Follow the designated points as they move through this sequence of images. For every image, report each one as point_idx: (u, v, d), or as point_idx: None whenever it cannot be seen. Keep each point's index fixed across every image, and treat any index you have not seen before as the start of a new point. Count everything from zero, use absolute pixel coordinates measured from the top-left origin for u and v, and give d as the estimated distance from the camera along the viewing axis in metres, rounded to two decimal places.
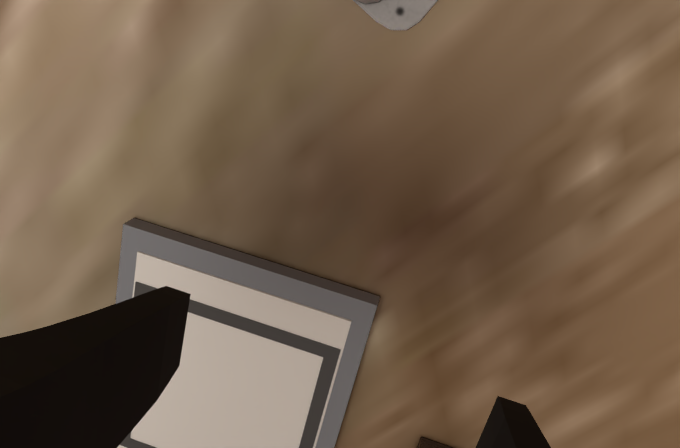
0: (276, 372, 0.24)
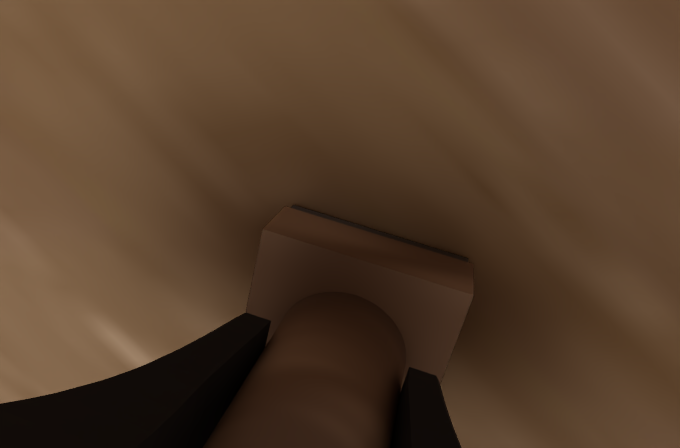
0: None
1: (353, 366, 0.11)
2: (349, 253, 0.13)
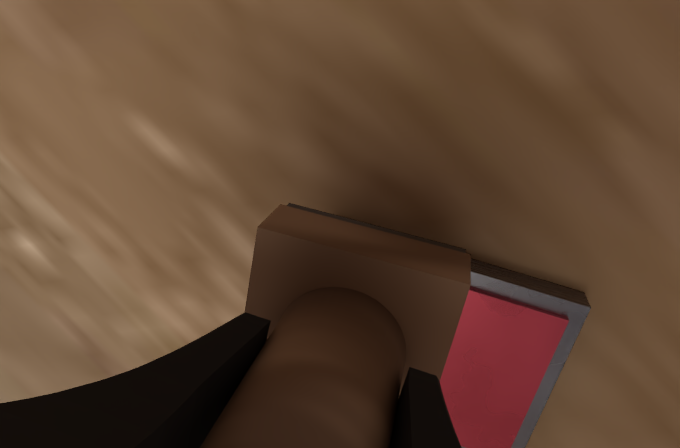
0: None
1: (351, 359, 0.11)
2: (345, 247, 0.13)
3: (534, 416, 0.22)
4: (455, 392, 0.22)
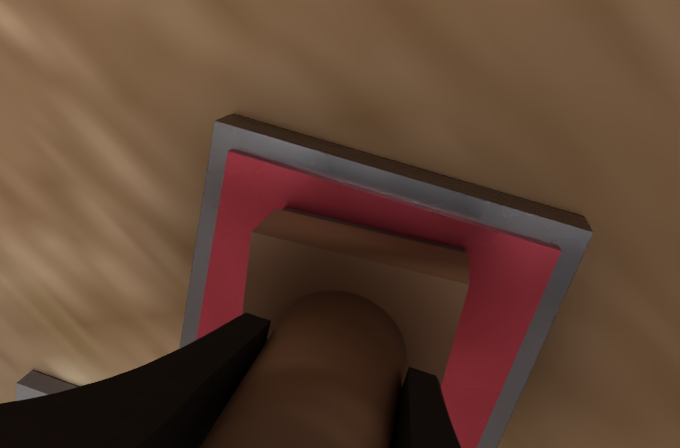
0: None
1: (347, 363, 0.11)
2: (340, 251, 0.13)
3: (513, 395, 0.16)
4: None
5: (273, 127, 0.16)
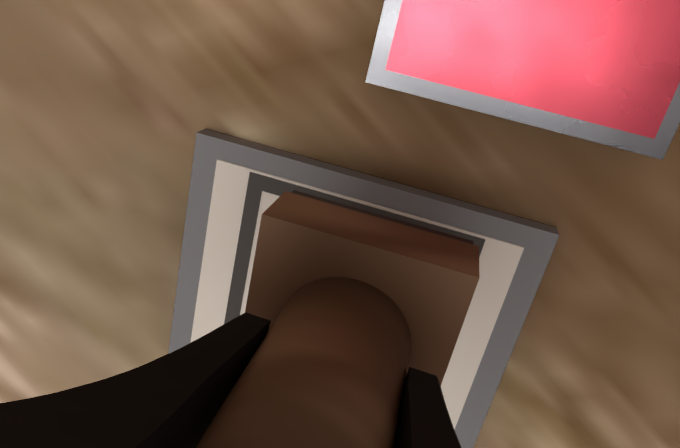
0: None
1: (356, 352, 0.10)
2: (351, 237, 0.13)
3: None
4: (594, 40, 0.17)
5: None
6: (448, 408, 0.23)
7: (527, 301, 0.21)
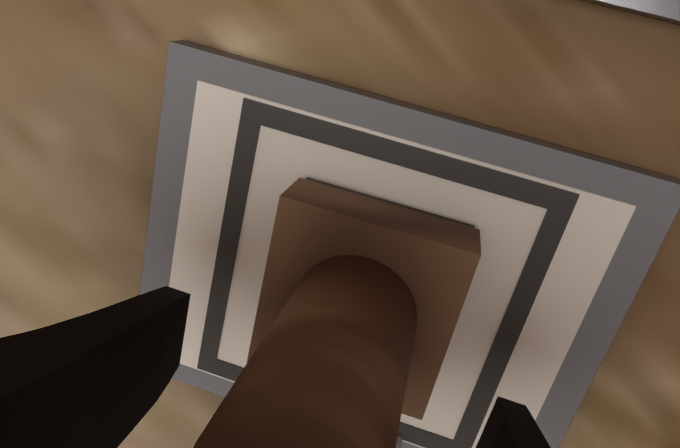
0: None
1: (369, 317, 0.11)
2: (362, 218, 0.14)
3: None
4: None
5: None
6: None
7: (633, 284, 0.15)
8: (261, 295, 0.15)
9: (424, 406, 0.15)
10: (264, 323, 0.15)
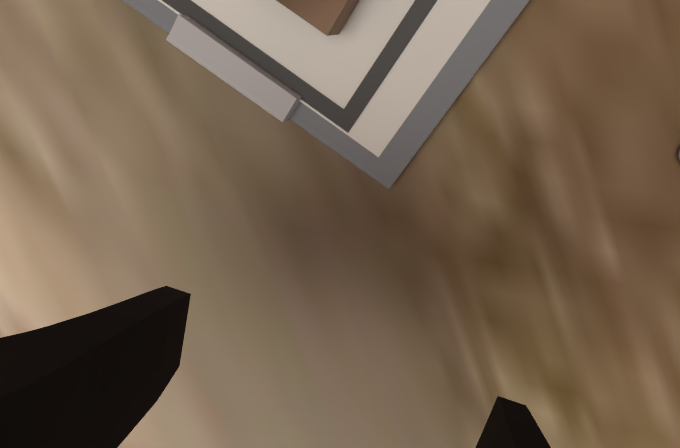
0: None
1: None
2: None
3: None
4: None
5: None
6: (393, 109, 0.20)
7: None
8: None
9: (332, 21, 0.17)
10: None
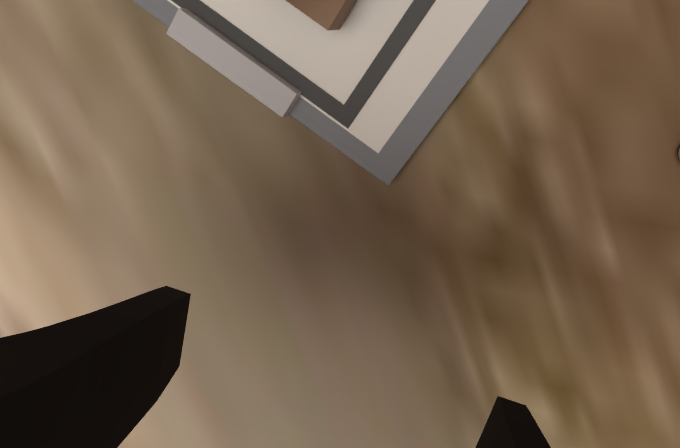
0: None
1: None
2: None
3: None
4: None
5: None
6: (394, 105, 0.20)
7: None
8: None
9: (333, 15, 0.17)
10: None
